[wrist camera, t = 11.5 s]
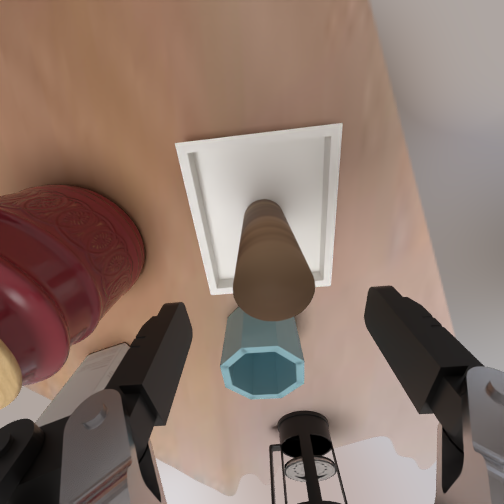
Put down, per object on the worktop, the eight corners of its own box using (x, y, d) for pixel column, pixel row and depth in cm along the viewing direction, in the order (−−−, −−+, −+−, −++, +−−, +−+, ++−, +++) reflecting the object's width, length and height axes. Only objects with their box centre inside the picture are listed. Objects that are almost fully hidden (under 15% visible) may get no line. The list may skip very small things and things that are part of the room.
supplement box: (86, 354, 32) (-6, 468, 21) (126, 340, 31) (51, 455, 19) (118, 382, 35) (53, 495, 24) (156, 371, 34) (106, 486, 22)
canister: (-2, 185, 21) (-769, 308, 5) (127, 177, 21) (-299, 287, 5) (59, 292, 27) (-218, 502, 11) (161, 288, 26) (20, 501, 11)
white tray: (184, 143, 19) (174, 143, 17) (332, 125, 18) (342, 122, 16) (214, 281, 26) (211, 295, 24) (324, 273, 25) (330, 285, 23)
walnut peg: (241, 201, 21) (226, 257, 10) (282, 196, 20) (315, 248, 9) (246, 240, 22) (239, 324, 11) (284, 235, 22) (314, 318, 11)
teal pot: (224, 302, 27) (215, 349, 21) (292, 297, 27) (304, 344, 20) (234, 348, 31) (229, 400, 25) (294, 345, 30) (304, 396, 24)
